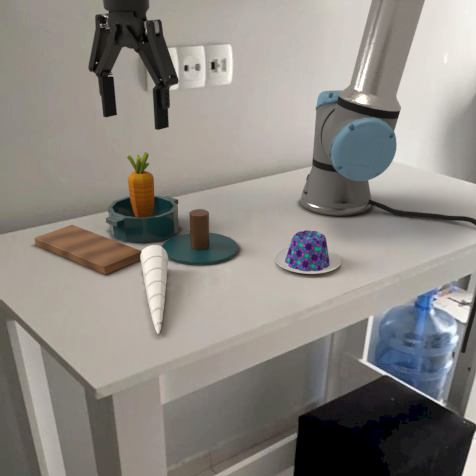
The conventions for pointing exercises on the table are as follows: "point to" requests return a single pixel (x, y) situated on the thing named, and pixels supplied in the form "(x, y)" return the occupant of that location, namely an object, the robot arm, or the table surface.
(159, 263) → the unicorn horn
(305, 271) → the pudding
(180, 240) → the lid
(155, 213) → the pot
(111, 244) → the board
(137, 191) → the carrot
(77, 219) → the table surface
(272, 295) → the table surface
